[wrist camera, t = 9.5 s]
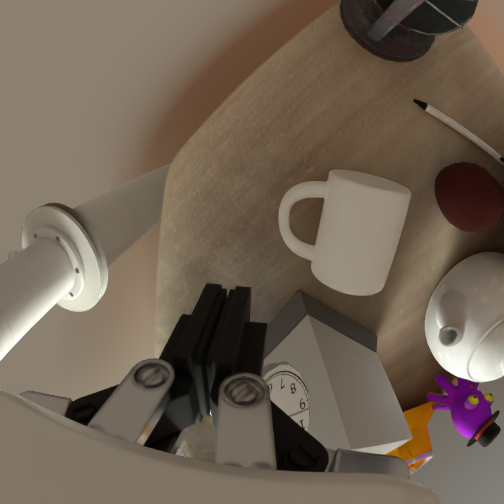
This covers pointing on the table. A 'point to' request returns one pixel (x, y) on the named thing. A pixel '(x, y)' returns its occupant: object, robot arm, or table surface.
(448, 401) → the toy
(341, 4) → the lantern
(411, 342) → the table surface
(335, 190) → the mug
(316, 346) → the alarm clock
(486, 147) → the pen
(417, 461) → the faceted orange bucket
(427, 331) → the teapot
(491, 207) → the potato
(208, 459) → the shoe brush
